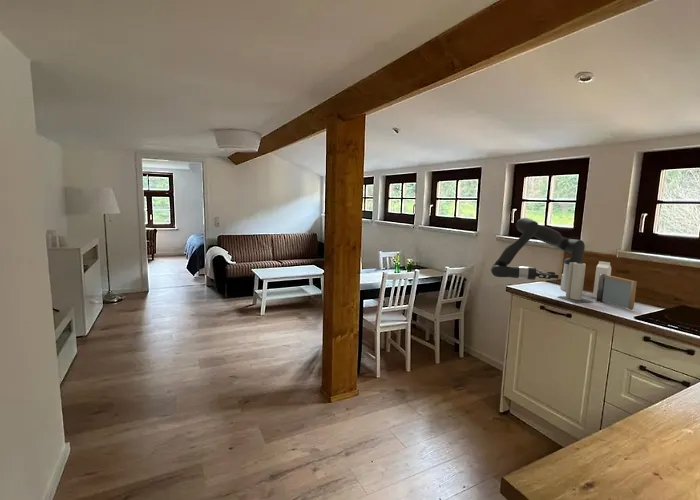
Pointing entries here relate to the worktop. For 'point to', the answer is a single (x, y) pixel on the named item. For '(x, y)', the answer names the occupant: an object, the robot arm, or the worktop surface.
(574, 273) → the white carton
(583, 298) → the mat
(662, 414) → the worktop surface
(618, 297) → the picture frame
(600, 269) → the milk
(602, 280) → the post
